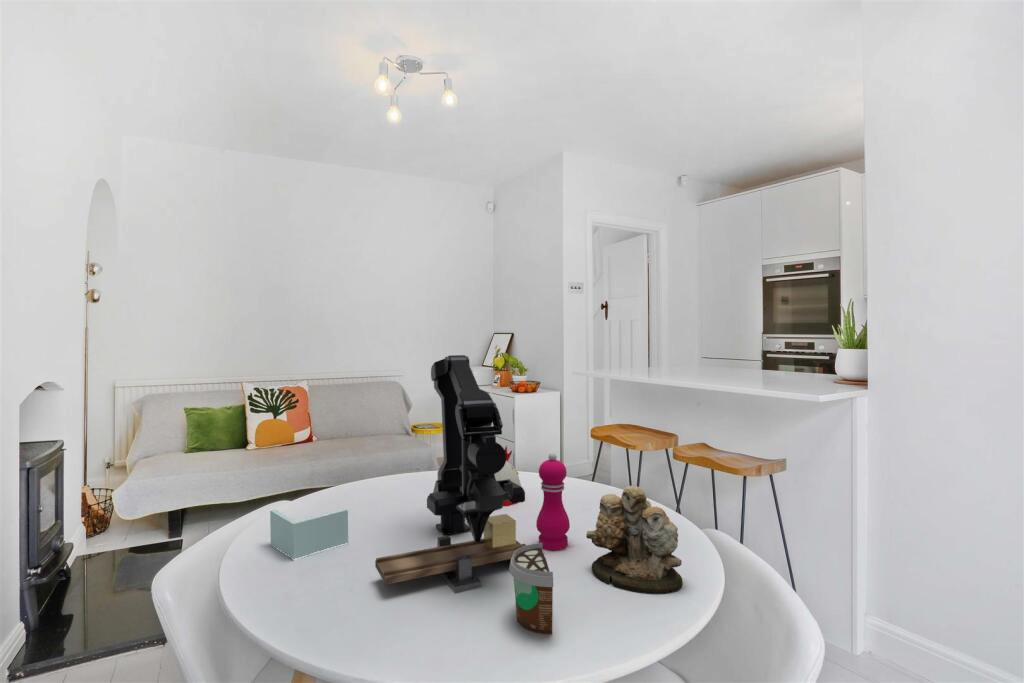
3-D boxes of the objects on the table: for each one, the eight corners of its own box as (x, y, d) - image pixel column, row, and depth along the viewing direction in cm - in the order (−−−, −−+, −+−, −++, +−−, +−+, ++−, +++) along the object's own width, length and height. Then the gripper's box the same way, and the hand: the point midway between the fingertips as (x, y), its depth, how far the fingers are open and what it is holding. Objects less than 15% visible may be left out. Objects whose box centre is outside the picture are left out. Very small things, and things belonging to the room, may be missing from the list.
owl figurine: (577, 581, 99) (576, 489, 99) (596, 557, 110) (596, 474, 110) (677, 601, 91) (676, 501, 91) (688, 573, 102) (687, 484, 102)
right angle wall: (348, 543, 117) (347, 509, 117) (293, 560, 109) (293, 524, 109) (322, 530, 126) (322, 498, 126) (270, 544, 117) (270, 510, 117)
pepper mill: (568, 552, 112) (567, 457, 111) (534, 550, 113) (533, 456, 113) (571, 539, 119) (570, 449, 118) (539, 537, 120) (538, 448, 120)
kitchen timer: (522, 507, 142) (521, 450, 141) (470, 507, 142) (469, 450, 141) (521, 491, 155) (521, 440, 155) (474, 491, 156) (474, 440, 155)
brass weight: (492, 552, 103) (492, 524, 103) (483, 544, 107) (483, 517, 107) (515, 548, 106) (515, 520, 105) (506, 540, 109) (506, 513, 109)
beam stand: (455, 592, 95) (454, 564, 95) (429, 560, 108) (428, 536, 108) (536, 573, 102) (536, 547, 102) (502, 545, 115) (502, 522, 115)
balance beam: (385, 584, 93) (385, 574, 93) (375, 566, 100) (375, 557, 100) (527, 555, 105) (527, 546, 105) (509, 541, 112) (509, 532, 112)
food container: (506, 600, 92) (506, 542, 92) (542, 599, 92) (541, 541, 92) (512, 642, 80) (512, 575, 79) (553, 639, 80) (553, 573, 80)
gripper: (444, 477, 93) (445, 566, 93) (538, 465, 101) (539, 547, 102) (425, 463, 103) (426, 544, 103) (512, 453, 111) (512, 528, 111)
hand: (477, 541), depth 105 cm, fingers closed
